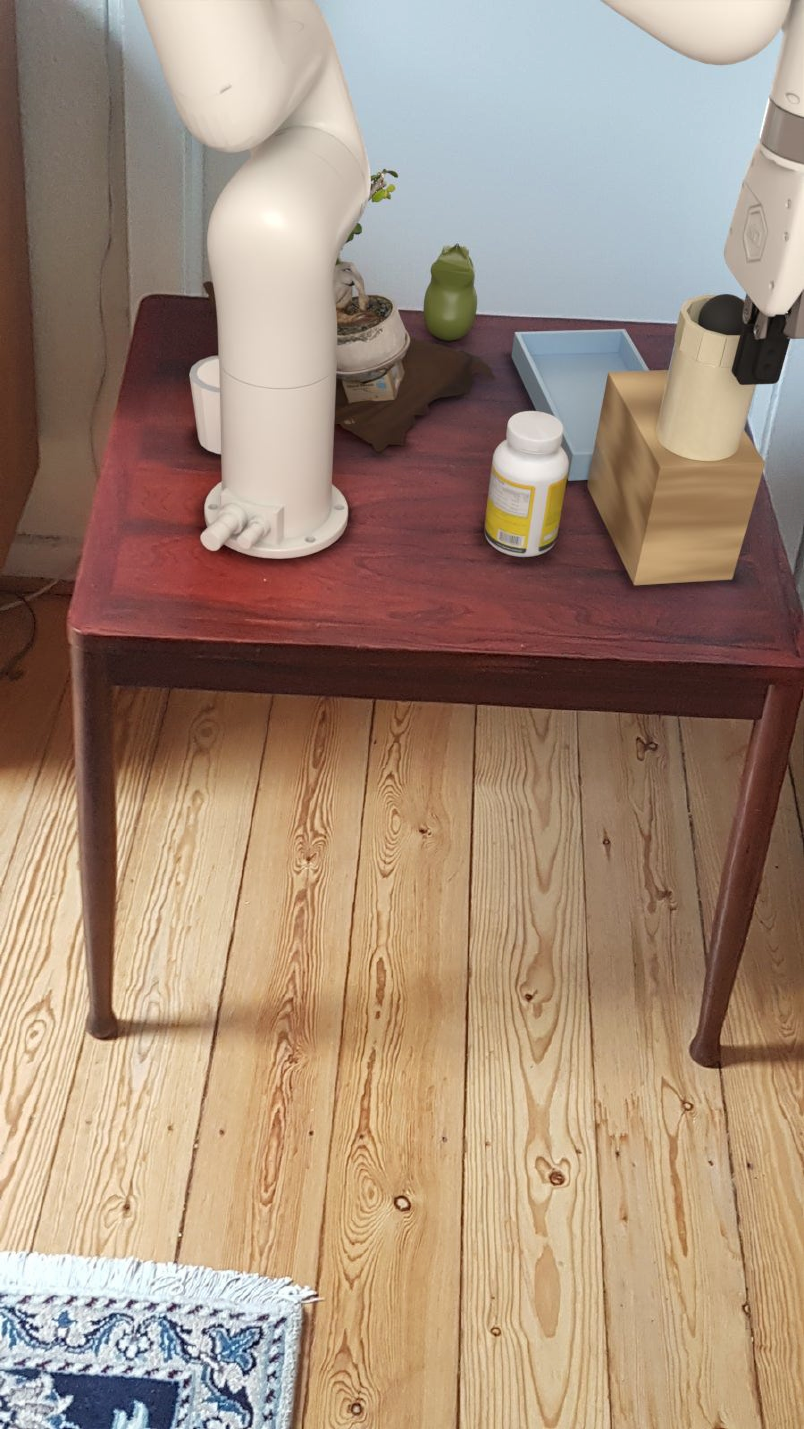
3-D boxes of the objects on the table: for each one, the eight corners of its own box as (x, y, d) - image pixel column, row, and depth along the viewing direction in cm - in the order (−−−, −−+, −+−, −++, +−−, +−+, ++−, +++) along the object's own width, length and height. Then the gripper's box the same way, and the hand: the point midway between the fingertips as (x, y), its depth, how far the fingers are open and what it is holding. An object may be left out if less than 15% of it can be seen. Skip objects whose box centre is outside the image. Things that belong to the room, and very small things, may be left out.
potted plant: (392, 484, 136) (318, 238, 119) (248, 453, 146) (162, 224, 130) (504, 372, 146) (450, 131, 129) (361, 351, 156) (295, 125, 140)
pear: (475, 329, 154) (486, 240, 147) (469, 352, 150) (479, 263, 144) (424, 321, 155) (432, 233, 148) (417, 345, 151) (424, 255, 144)
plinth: (732, 579, 125) (765, 462, 116) (633, 585, 123) (660, 467, 115) (678, 482, 135) (705, 368, 127) (586, 486, 134) (607, 371, 125)
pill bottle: (556, 521, 129) (575, 409, 121) (555, 564, 124) (575, 450, 116) (484, 513, 129) (499, 400, 121) (480, 556, 125) (495, 441, 117)
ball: (738, 360, 111) (748, 310, 108) (688, 349, 112) (696, 300, 109) (750, 340, 113) (760, 292, 111) (701, 330, 115) (710, 282, 112)
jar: (727, 470, 115) (759, 347, 108) (644, 446, 117) (670, 322, 109) (749, 430, 120) (781, 309, 112) (669, 407, 122) (696, 286, 114)
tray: (689, 475, 136) (696, 449, 134) (568, 481, 134) (572, 454, 132) (620, 353, 152) (625, 328, 150) (511, 357, 150) (514, 331, 148)
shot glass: (231, 467, 132) (229, 400, 127) (176, 439, 135) (173, 373, 130) (279, 437, 136) (280, 372, 131) (226, 411, 139) (224, 345, 134)
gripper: (727, 89, 99) (675, 331, 112) (808, 179, 89) (740, 435, 101) (828, 90, 101) (765, 328, 113) (920, 178, 90) (839, 431, 102)
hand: (754, 378), depth 107 cm, fingers closed
